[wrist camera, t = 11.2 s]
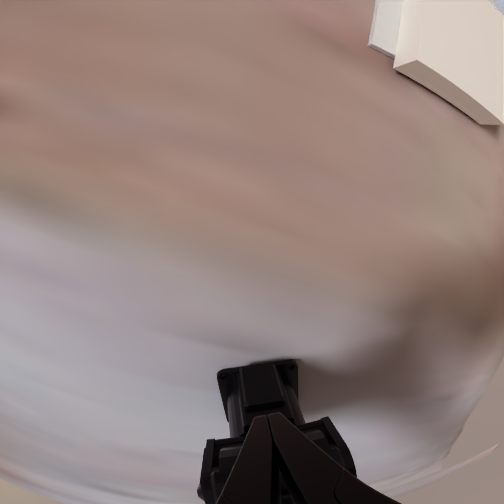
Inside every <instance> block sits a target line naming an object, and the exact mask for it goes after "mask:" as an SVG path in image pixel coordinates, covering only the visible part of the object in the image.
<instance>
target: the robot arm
mask: <svg viewBox="0 0 504 504" xmlns="http://www.w3.org/2000/svg"><path fill="white" fill-rule="evenodd" d="M290 365H293V366H291V367H289V366H290ZM222 375H224V376H225V377H221V376H222ZM217 380H218V385H219V389H220V393H221V397H222V402H223V406H224V410H225V414H226V418H227V421H228V422H229V428H230V438H226V439H218V440H215V439H208V440H207V443H206V448H204V455H203V462H202V470H201V477H200V484H199V487H198V489H197V493H198V497H199V498H201V499H202V500H203V501H205V503H206V504H401V503H399V502H397V501H395V500H393V499H391V498H389V497H387V496H385V495H384V494H382V493H380V492H378V491H376V490H375V489H373V488H371V487H370V486H368V485H366V484H365V483H363V482H362V481H360V480H359V479H358V478H357V474H356V469H355V465H354V461H353V458H352V455H351V453H350V450H349V448H348V447H347V445H346V443H345V442H344V440H343V439H342V437H341V436H340V434H339V432H338V431H337V429H336V428H335V426H334V425H333V423H332V422H331V420H330V419H329V417H328V416H327V417H324V418H321V420H317V421H313V422H309V423H305V420H304V418H303V415H302V412H301V409H300V406H299V403H298V366H297V363H296V361H295V360H286V361H280V362H274V363H268V364H262V365H256V366H249V367H242V368H234V369H226V370H220V371H219V372H218V373H217Z"/></svg>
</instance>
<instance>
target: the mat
mask: <svg viewBox="0 0 504 504" xmlns="http://www.w3.org/2000/svg"><path fill="white" fill-rule="evenodd" d="M402 1H403V0H376V2H375V8H374V14H373V20H372V26H371V31H370V36H369V42H368V46H369V47H371V48H373V49H375V50H377V51H379V52H381V53H383V54H385V55H387V56H389V57H391V58H393V59H395V54H396V48H397V41H398V34H399V27H400V19H401V11H402ZM488 1H489V2H490V3H491V4H492V5H493V6H494V7H495V2H494V1H493V0H488Z"/></svg>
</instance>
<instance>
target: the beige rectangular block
mask: <svg viewBox="0 0 504 504" xmlns="http://www.w3.org/2000/svg"><path fill="white" fill-rule="evenodd" d="M393 69H395V70H397V71H399V72H401V73H403V74H404V75H406V76H408V77H410V78H411V79H413V80H415V81H417V82H418V83H420V84H422V85H423V86H425V87H427V88H428V89H430V90H432V91H433V92H435V93H436V94H438V95H439V96H441V97H443V98H444V99H446V100H447V101H449V102H450V103H452V104H453V105H454V106H456V107H457V108H459V109H460V110H462V111H463V112H464V113H466V114H467V115H469V116H470V117H471V118H473V119H474V120H475V121H477V122H478V123H479V124H480V125H504V15H503V14H502V13H501V12H500V11H499V10H497V9H496V8H495V7H494V6H493V5H492V4H491V3H490V2H489V1H488V0H403V1H402V11H401V19H400V27H399V34H398V41H397V48H396V54H395V60H394V66H393Z"/></svg>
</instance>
